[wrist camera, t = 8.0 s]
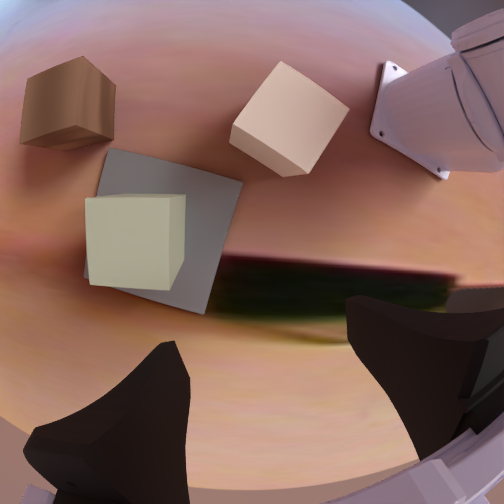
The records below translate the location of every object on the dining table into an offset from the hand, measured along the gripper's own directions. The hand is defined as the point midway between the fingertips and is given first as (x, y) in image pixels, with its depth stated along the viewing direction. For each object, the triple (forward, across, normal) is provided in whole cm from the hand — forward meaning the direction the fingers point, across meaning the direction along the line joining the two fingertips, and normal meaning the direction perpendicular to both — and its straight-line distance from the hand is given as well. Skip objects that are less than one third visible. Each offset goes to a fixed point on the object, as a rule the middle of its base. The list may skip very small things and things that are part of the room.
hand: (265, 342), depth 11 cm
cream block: (+10, -4, -9) cm, 14 cm away
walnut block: (+10, +9, -14) cm, 20 cm away
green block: (+9, +6, -5) cm, 12 cm away
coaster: (+10, +6, -4) cm, 12 cm away
